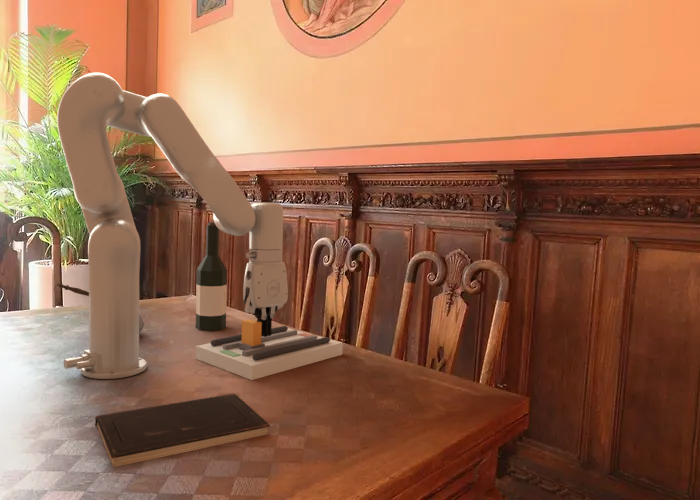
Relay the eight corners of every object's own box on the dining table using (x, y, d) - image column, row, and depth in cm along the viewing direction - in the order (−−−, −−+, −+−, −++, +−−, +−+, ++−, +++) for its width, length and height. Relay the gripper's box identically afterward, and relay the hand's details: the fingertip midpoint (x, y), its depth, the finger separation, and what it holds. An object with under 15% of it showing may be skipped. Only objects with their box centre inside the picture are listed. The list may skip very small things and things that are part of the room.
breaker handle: (250, 351, 119) (251, 324, 118) (237, 346, 122) (238, 321, 121) (264, 348, 122) (265, 322, 121) (251, 343, 125) (252, 318, 124)
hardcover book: (269, 438, 84) (269, 424, 84) (111, 472, 72) (111, 456, 72) (233, 404, 98) (233, 392, 98) (95, 428, 86) (95, 414, 85)
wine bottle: (232, 327, 154) (234, 223, 151) (210, 332, 147) (212, 223, 144) (211, 323, 158) (213, 221, 156) (189, 327, 151) (191, 221, 149)
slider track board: (251, 380, 110) (252, 361, 109) (195, 358, 123) (196, 341, 122) (342, 354, 131) (343, 338, 131) (286, 338, 144) (287, 324, 143)
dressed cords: (255, 361, 112) (255, 355, 112) (209, 345, 123) (209, 339, 123) (331, 342, 130) (331, 337, 130) (285, 330, 141) (285, 325, 141)
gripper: (250, 260, 115) (248, 344, 116) (300, 256, 126) (298, 332, 128) (228, 256, 119) (227, 337, 121) (279, 253, 131) (277, 327, 132)
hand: (264, 334), depth 124 cm, fingers closed
